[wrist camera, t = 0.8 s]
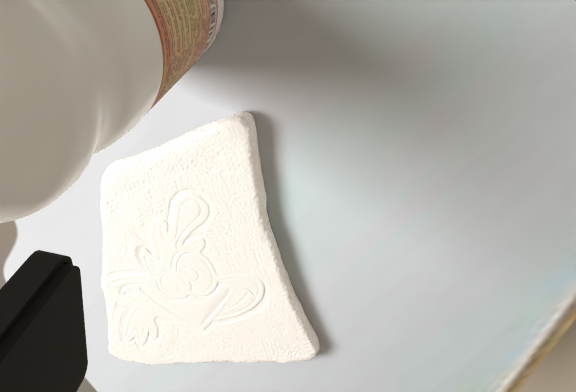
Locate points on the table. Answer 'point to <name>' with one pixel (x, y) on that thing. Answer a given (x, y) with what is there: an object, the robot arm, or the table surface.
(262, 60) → the table surface
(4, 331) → the robot arm
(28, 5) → the fruit juice
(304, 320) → the flat white fragment
